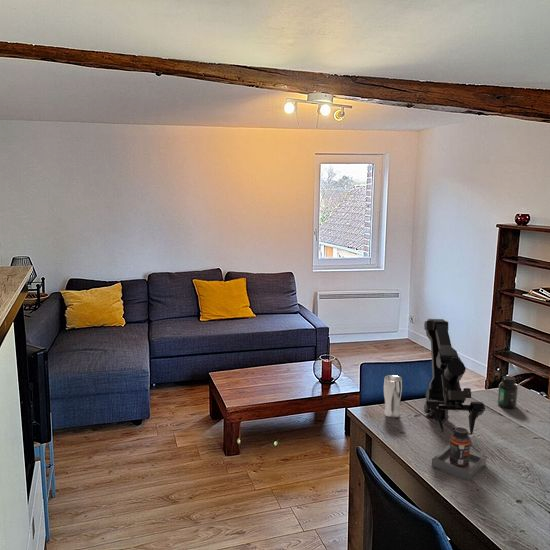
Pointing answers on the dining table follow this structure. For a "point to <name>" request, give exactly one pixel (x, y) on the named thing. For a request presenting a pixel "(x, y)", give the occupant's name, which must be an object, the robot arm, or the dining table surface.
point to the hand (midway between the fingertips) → (457, 433)
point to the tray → (466, 472)
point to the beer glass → (392, 395)
